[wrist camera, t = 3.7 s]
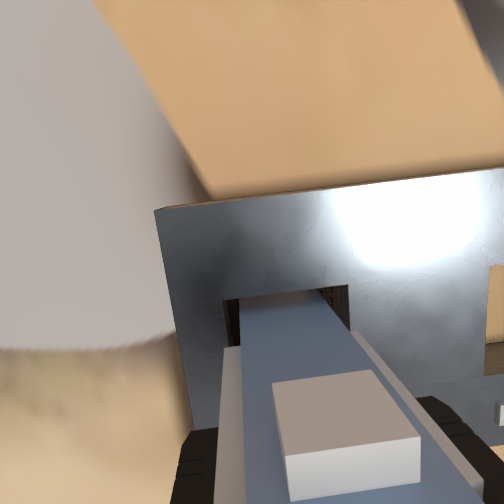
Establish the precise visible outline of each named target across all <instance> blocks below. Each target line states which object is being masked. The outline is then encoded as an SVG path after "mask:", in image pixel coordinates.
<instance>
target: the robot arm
mask: <svg viewBox="0 0 504 504" xmlns="http://www.w3.org/2000/svg"><path fill="white" fill-rule="evenodd" d="M350 333H351V334H352V335H353V337H354V338H355V339H356V340H357V342H358V343H359V344H360V345H361V347H362V348H363V349H364V351H365V352H366V353H367V354H368V356H369V357H370V358H371V359H372V361H373V362H374V363H375V365H376V366H377V367H378V368H379V370H380V371H381V372H382V373H383V375H384V376H385V377H386V379H387V380H388V381H389V382H390V384H391V385H392V386H393V387H394V389H395V390H396V391H397V393H398V394H399V395H400V396H401V398H402V399H403V400H404V401H405V403H406V404H407V405H408V407H409V408H410V409H411V410H412V412H413V413H414V414H415V415H416V417H417V418H418V419H419V421H420V422H421V423H422V424H423V426H424V427H425V428H426V429H427V431H428V432H429V433H430V435H431V436H432V437H433V438H434V440H435V441H436V442H437V443H438V445H439V446H440V447H441V449H442V450H443V451H444V452H445V454H446V455H447V456H448V457H449V459H450V460H451V461H452V463H453V464H454V465H455V466H456V468H457V469H458V470H459V471H460V473H461V474H462V475H463V476H464V478H465V479H466V480H467V482H468V483H469V484H470V485H471V487H472V488H473V489H474V490H475V492H476V493H477V494H478V496H479V497H480V498H481V499H482V501H483V502H484V503H485V504H504V462H503V461H502V460H501V459H500V458H499V457H498V456H497V455H496V454H495V453H494V452H493V451H492V450H491V449H490V448H489V446H488V445H487V444H486V443H485V442H484V441H483V440H482V439H481V438H480V437H479V436H478V435H475V433H474V431H473V430H472V429H471V428H470V427H469V426H468V425H467V424H466V423H464V422H463V420H462V419H461V418H460V417H459V416H458V415H457V414H456V412H455V411H454V410H453V409H452V408H451V407H450V406H448V405H446V404H445V403H443V402H442V401H440V400H438V399H437V398H435V397H433V396H426V397H419V398H414V397H413V395H412V394H411V393H410V392H409V391H408V390H407V388H406V387H405V386H404V385H403V384H402V382H401V381H400V380H399V379H398V378H397V377H396V375H395V374H394V373H393V372H392V371H391V369H390V368H389V367H388V366H387V365H386V364H385V362H384V361H383V360H382V359H381V358H380V356H379V355H378V354H377V353H376V352H375V350H374V349H373V348H372V347H371V346H370V345H369V343H368V342H367V341H366V340H365V339H364V337H363V336H362V335H361V334H360V333H359V332H358V330H353V331H350ZM178 463H179V465H178V467H177V472H176V480H175V481H174V486H173V491H172V496H171V501H170V504H246V487H245V458H244V430H243V402H242V373H241V346H234V347H227V348H224V358H223V373H222V387H221V402H220V416H219V427H215V428H208V429H200V430H193V431H191V432H190V434H189V435H188V437H187V438H186V440H185V442H184V443H183V445H182V447H181V452H180V457H179V462H178Z"/></svg>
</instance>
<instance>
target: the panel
mask: <svg viewBox="0 0 504 504" xmlns="http://www.w3.org/2000/svg"><path fill="white" fill-rule="evenodd" d="M154 214H155V219H156V225H157V230H158V236H159V241H160V246H161V252H162V257H163V262H164V268H165V273H166V279H167V284H168V289H169V295H170V299H171V305H172V310H173V316H174V322H175V327H176V332H177V338H178V343H179V348H180V354H181V359H182V364H183V370H184V375H185V380H186V386H187V391H188V397H189V402H190V407H191V413H192V418H193V423H194V429H195V430H200V429H208V428H215V427H219V416H220V402H221V387H222V373H223V358H224V348H227V347H233V340H232V333H231V326H230V319H229V312H228V305H227V300H229V299H237V298H245V297H253V296H260V295H268V294H276V293H284V292H291V291H299V290H307V289H315V288H323V287H330V286H332V292H333V308H334V312H335V314H336V315H337V316H338V318H339V319H340V320H341V321H342V323H343V324H344V325H345V326H346V328H347V329H348V330H349V331H353V330H358V332H359V333H360V334H361V335H362V336H363V337H364V339H365V340H366V341H367V342H368V343H369V345H370V346H371V347H372V348H373V349H374V350H375V352H376V353H377V354H378V355H379V356H380V358H381V359H382V360H383V361H384V362H385V364H386V365H387V366H388V367H389V368H390V369H391V371H392V372H393V373H394V374H395V375H396V377H397V378H398V379H399V380H400V381H401V382H402V384H403V385H404V386H405V387H406V388H407V390H408V391H409V392H410V393H411V394H412V395H413V397H414V398H419V397H426V396H433V397H435V398H437V399H438V400H440V401H442V402H443V403H445V404H446V405H448V406H450V407H451V408H452V409H453V410H454V411H455V412H456V414H457V415H458V416H459V417H460V418H461V419H462V420H463V422H464V423H466V424H467V425H468V426H469V427H470V428H471V429H472V430H473V431H474V433H475V435H478V436H479V437H480V438H481V439H482V440H483V441H484V442H485V443H486V444H487V445H488V446H489V447H491V446H498V445H504V342H501V343H493V344H486V345H485V338H486V319H487V301H488V283H489V266H494V265H502V264H504V166H497V167H489V168H481V169H473V170H464V171H456V172H448V173H439V174H431V175H423V176H415V177H406V178H398V179H390V180H382V181H373V182H365V183H357V184H349V185H340V186H332V187H324V188H316V189H307V190H299V191H291V192H282V193H274V194H266V195H258V196H249V197H241V198H233V199H225V200H216V201H209V202H200V203H192V204H184V205H175V206H167V207H164V208H161V209H157V210H154Z"/></svg>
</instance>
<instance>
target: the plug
mask: <svg viewBox="0 0 504 504" xmlns="http://www.w3.org/2000/svg"><path fill="white" fill-rule="evenodd" d="M239 317H240V345H241V373H242V402H243V430H244V458H245V487H246V504H485V503H484V502H483V501H482V499H481V498H480V497H479V496H478V494H477V493H476V492H475V490H474V489H473V488H472V487H471V485H470V484H469V483H468V482H467V480H466V479H465V478H464V476H463V475H462V474H461V473H460V471H459V470H458V469H457V468H456V466H455V465H454V464H453V463H452V461H451V460H450V459H449V457H448V456H447V455H446V454H445V452H444V451H443V450H442V449H441V447H440V446H439V445H438V443H437V442H436V441H435V440H434V438H433V437H432V436H431V435H430V433H429V432H428V431H427V429H426V428H425V427H424V426H423V424H422V423H421V422H420V421H419V419H418V418H417V417H416V415H415V414H414V413H413V412H412V410H411V409H410V408H409V407H408V405H407V404H406V403H405V401H404V400H403V399H402V398H401V396H400V395H399V394H398V393H397V391H396V390H395V389H394V387H393V386H392V385H391V384H390V382H389V381H388V380H387V379H386V377H385V376H384V375H383V373H382V372H381V371H380V370H379V368H378V367H377V366H376V365H375V363H374V362H373V361H372V359H371V358H370V357H369V356H368V354H367V353H366V352H365V351H364V349H363V348H362V347H361V345H360V344H359V343H358V342H357V340H356V339H355V338H354V337H353V335H352V334H351V333H350V331H349V330H348V329H347V328H346V326H345V325H344V324H343V323H342V321H341V320H340V319H339V318H338V316H337V315H336V314H335V312H334V311H333V310H332V309H331V307H330V306H329V305H328V304H327V302H326V301H325V300H324V298H323V297H322V296H321V295H320V293H319V292H318V291H317V290H316V288H315V289H307V290H299V291H291V292H284V293H276V294H268V295H260V296H253V297H245V298H239Z"/></svg>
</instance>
